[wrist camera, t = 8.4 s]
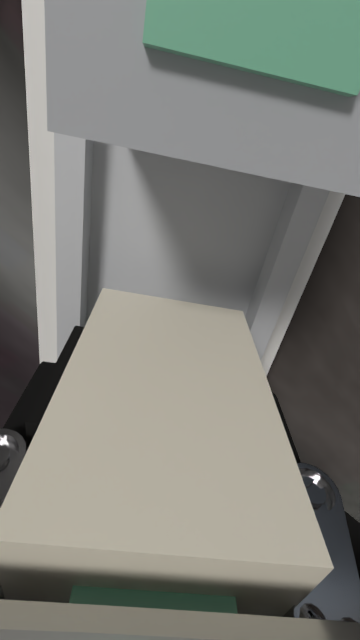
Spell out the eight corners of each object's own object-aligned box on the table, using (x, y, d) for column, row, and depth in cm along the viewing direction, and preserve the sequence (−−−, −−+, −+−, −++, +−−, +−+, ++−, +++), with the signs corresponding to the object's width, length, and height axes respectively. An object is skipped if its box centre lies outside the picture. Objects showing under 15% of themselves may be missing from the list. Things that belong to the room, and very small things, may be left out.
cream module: (242, 311, 10) (340, 586, 4) (204, 424, 13) (228, 690, 7) (102, 287, 10) (-24, 559, 4) (94, 411, 13) (14, 681, 6)
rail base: (431, -75, 8) (539, -161, 6) (205, 489, 22) (209, 536, 19) (37, -199, 7) (-35, -367, 5) (54, 474, 20) (38, 522, 18)
